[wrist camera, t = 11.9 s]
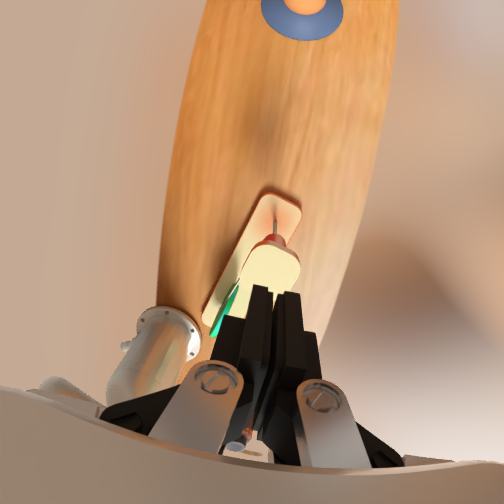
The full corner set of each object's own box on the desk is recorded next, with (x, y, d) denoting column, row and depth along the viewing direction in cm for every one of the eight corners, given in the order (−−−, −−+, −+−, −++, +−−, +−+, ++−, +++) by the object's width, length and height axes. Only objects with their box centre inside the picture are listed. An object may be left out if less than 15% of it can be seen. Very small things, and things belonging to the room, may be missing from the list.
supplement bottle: (225, 396, 60) (216, 438, 49) (253, 396, 59) (248, 439, 48) (229, 413, 62) (222, 453, 51) (256, 414, 61) (252, 454, 50)
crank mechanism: (265, 188, 44) (255, 223, 26) (305, 208, 45) (322, 257, 27) (199, 317, 53) (167, 396, 35) (234, 333, 54) (214, 416, 36)
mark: (281, 50, 37) (281, 50, 36) (248, -10, 33) (248, -11, 33) (356, 29, 34) (356, 29, 34) (321, -30, 30) (321, -30, 30)
